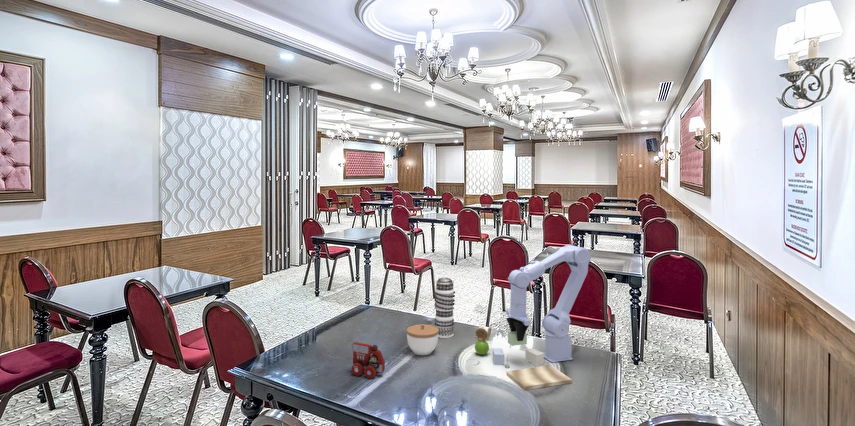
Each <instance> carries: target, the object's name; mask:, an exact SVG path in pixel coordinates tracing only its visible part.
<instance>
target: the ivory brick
mask: <svg viewBox="0 0 855 426" xmlns="http://www.w3.org/2000/svg"><path fill="white" fill-rule="evenodd" d="M543 353H544V352H541V351H539V350H538V349H536V348H534V347H532V348H528V349H525V356H524V357H525V359H526V361H527V360H528V361H527V362H529V363H530V364H533V365H535V366H536V365H537V366H540V365H544V359H545V358H544V354H543Z"/></svg>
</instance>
